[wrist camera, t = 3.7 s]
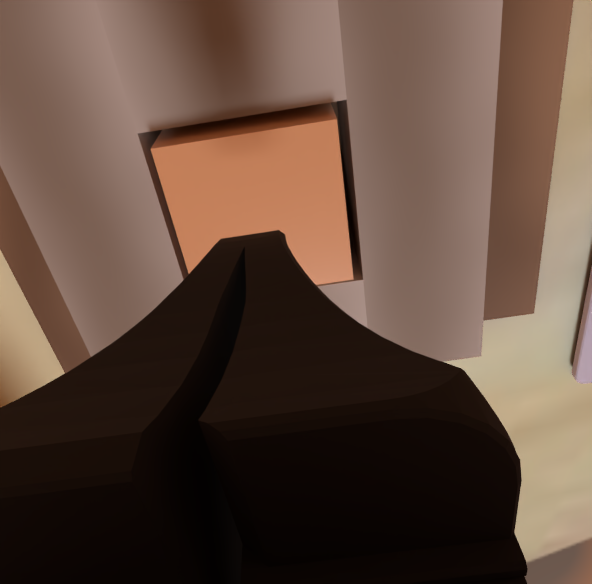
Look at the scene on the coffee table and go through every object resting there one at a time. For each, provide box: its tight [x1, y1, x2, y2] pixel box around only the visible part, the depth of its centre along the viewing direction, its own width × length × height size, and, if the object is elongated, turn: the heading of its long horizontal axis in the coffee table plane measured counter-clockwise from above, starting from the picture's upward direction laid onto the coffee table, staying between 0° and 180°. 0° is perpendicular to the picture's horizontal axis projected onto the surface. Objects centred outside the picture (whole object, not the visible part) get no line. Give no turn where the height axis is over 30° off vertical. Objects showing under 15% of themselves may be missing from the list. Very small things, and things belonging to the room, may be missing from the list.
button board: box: [0, 0, 573, 373], centre depth 15 cm, size 18×14×4 cm
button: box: [151, 102, 353, 285], centre depth 15 cm, size 4×4×3 cm
